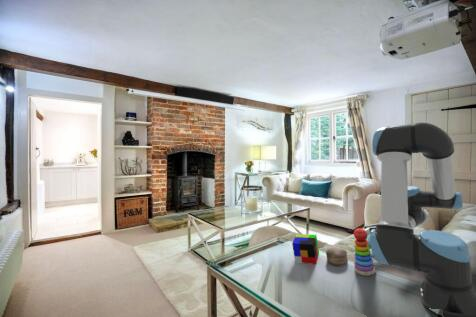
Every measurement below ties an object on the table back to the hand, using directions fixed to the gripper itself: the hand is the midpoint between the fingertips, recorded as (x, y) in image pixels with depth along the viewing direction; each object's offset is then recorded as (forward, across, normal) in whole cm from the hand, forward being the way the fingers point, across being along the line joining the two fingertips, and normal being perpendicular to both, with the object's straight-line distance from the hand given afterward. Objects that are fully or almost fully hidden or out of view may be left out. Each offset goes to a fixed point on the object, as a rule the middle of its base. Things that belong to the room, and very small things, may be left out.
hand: (374, 240), depth 103 cm
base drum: (+10, +13, -10) cm, 19 cm away
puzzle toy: (+18, +24, -11) cm, 32 cm away
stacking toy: (+9, 0, -11) cm, 14 cm away
